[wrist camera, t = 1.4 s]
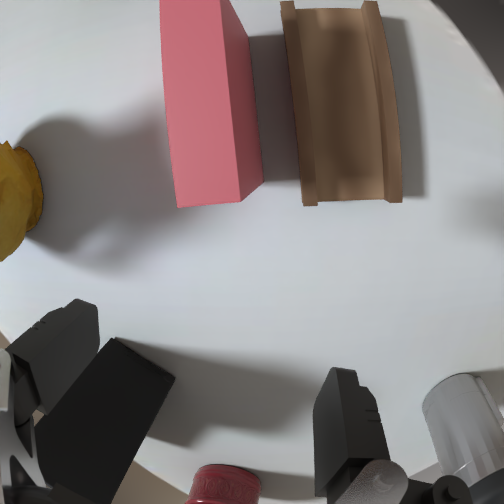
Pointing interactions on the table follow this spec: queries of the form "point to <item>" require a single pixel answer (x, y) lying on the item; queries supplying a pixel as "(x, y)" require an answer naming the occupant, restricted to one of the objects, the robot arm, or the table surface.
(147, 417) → the bookend
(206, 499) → the canister
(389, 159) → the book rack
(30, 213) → the pitcher
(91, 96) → the table surface
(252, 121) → the book
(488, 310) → the table surface
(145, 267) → the table surface
